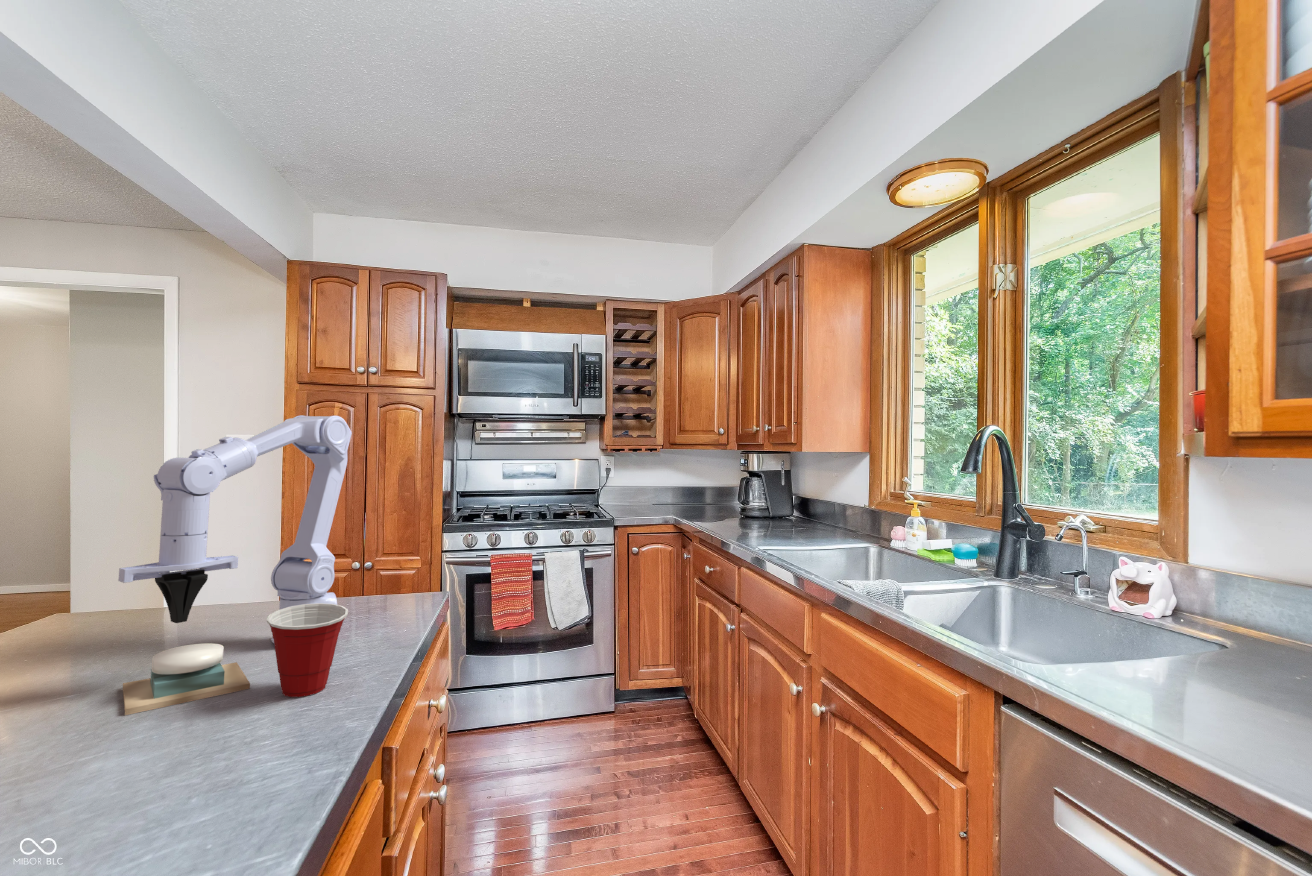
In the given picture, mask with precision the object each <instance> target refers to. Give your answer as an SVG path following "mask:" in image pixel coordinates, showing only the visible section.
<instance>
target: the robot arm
mask: <svg viewBox="0 0 1312 876" xmlns="http://www.w3.org/2000/svg"><path fill="white" fill-rule="evenodd" d="M352 433H353V432H352V430H351V429H350V427H349V425H348V422H346V420H345V419H344V418H343V417H341V416H339V415H329V416H324V415H323V416H322V415H321V416H319V415H317V416H312V415H297V416H295V417H293V418H292V417H291V418H287V419H285V420H284V421H283V422H281V423H278V424H277V425H275V426H273V427H270V428H268V429H266V430H264V431H262V432H259V433H258V434H256V435H255V434H254V436H251V437H249V438H247V439H245V438H244V439H243V438H241V437H233V436H224V437H222V438H219V439H218V441H219V443H217V444H214V445H212V446H209V447H207V448H204V449H202V448H201V449H199V448H198V449H194V450H192V451H191V454H190V455H189V456H188V457H173V458H170V459H168V460H166V461H165V462H163V464H162V465H161V466H160V467H159V468H158V471H157V473H156V474H153V481H154V484H155V486H156V488H157V489H158V490H159V491H160V494H161V496H160V500H161V501H162V502H161V503H162V505H161V519H160V520H161V521H160V535H159V550H158V551H159V554H158V562H152V563H146V564H141V565H140V564H139V565H134V566H126V567H120V568H119V569H118V579H117V581H118V582H120V583H123V584H124V583H125V584H126V583H133V582H134V581H141V580H149V579H154V582H155V584H156V585H157V586H158V589H159V590H160V591H161V593H162V595H163V598H164V600H165V602H166V606H167V609H168V613H169V619H170V622H171V623H174V624H179V623H184V622H185V623H186V622H187V621H188V619H189V615H190V612H191V610H192V607H193V604H194V602H195V601H196V600H195V599H196V598H197V596H199V595H198V594H199V593H200V592H201V590H202V588H203V587H204V585H205V584H206V583H207V581H208V579H209V578H208V577H209V574H208V573H206V572H212V571H219V570H226V569H227V570H233V569H238V565H239V556H238V555H237V556H236V555H224V556H222V555H221V556H213V557H212V556H209V557H207V550H208V549H207V548H208V533H209V517H210V516H209V515H210V502H211V501H210V500H211V493H213V492H215V490H217V489H218V487H219V486H220V484H221V482H223V481H224V480H226V479H229V478H231V477H233V476H235V475H237V474H239V473H240V474H241V472H244V471H246V470H248V469H250V468H252V467H254V465H256V462H257V458H258V457H260V456H263V455H265V454H267V453H270V452H273V451H275V450H278V449H280V448H281V449H282V448H283V447H285V446H288V445H290V444H292V445H293V446H294V447H296V449H298V450H299V451H301V452H302V453H303V455H305V456H306V457H308V458H309V459H310V460H311V462H312V463H313V464H314V468H313V473H312V476H311V480H310V485H309V487H308V491H307V495H306V497H305V502H304V506H303V508H302V509H303V510H302V514H301V517H300V521H299V526H298V529H297V531H296V532H297V533H296V536H295V540H294V543H293V544H292V545H290V546H289V547H288V548H286V549H285V550H284V551H282V552H281V555H280V558H279V560H278V562H277V564H276V565H275V566H274V568H273V570H272V572H271V576H270V582H271V586H272V587H273V589H274V590H276V591H277V597H279V606H278V607H279V609H278V610H280V609H283V608H287V607H291V606H297V605H303V604H315V603H325V604H336V605H338V600H337V596H336V594H335V592H333V591H332V592H331V591H330V592H329V590H330V589H331V588H332V585H333V584H334V582H335V561H336V557H335V556H334V554H333V553H332V552H331V551H330V550H329V549H328V547H327V546H328V541H329V537H330V535H331V533H330V532H331V528H332V525H333V521H334V517H335V514H336V509H337V506H338V505H337V504H338V500H339V498H340V493H341V489H342V486H343V482H344V477H345V473H346V469H347V465H348V451H349V445H350V442H351V439H352V435H353V434H352ZM308 559H309V560H308ZM306 560H307V561H306ZM270 641H271V642H272V643H273V644H274V639H273V637H272V638H271V639H270Z"/></svg>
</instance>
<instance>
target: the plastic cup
mask: <svg viewBox="0 0 1312 876" xmlns="http://www.w3.org/2000/svg"><path fill="white" fill-rule="evenodd" d="M348 614H349V609H348V608H347V607H345V606H343V605H340V604H337V605H336V604H325V603H315V604H303V605H297V606H291V607H287V608H283V609H280V610H279V609H277V610H275V611H273V612H272V613H270V614H268V616H267V618H266V622H267V624H268V625H269V627H270V631H271V633H272V638H273V639H274V643H273V645H274V651H275V658H276V665H277V673H278V675H279V682H280V690H281V694H282V695H283V696H284V697H287V698H288V697H289V698H301V697H307V696H311V695H316V694H318V693H320V692H322V691H324V690H325V689H326V685H327V684H328V679H329V674H330V670H331V667H332V665H333V660H334V657H335V656H334V655H335V651H336V647H337V642H338V639H339V635H340V633H341V628H342V626H343V623H344V621H345V619H346V618H347V617H348Z"/></svg>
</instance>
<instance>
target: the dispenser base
mask: <svg viewBox="0 0 1312 876" xmlns="http://www.w3.org/2000/svg"><path fill="white" fill-rule="evenodd" d="M250 689H251V682H250V681H249V679H248V678H247V676H246V675H245V673H244V672H243V669H242V668H241V667H240V665H239V664H238V662H231V663H225V664H221V662H220V663H218V664H216V665H214V666H212V667H209V668H206V669H202V670H198V671H193V672H188V673H181V674H156V673H153V672H152V668H151V669H150V678H149V677H148V678H143V679H139V680H133V681H129V682H127V681H126V682H123V683H122V697H123V708H124V716H128V715H134V714H137V713H141V712H147V711H153V710H156V709H157V710H158V709H161V708H166V707H169V706H174V705H179V704H180V705H181V704H184V703H189V702H193V701H194V702H195V701H199V700H205V699H209V698H212V697H216V696H217V697H218V696H222V695H227V694H230V693H236V692H240V691H245V690H250Z"/></svg>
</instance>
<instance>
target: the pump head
mask: <svg viewBox="0 0 1312 876" xmlns="http://www.w3.org/2000/svg"><path fill="white" fill-rule="evenodd" d="M224 650H225V649H224V646H223V645H222V644H219V643H210V642H209V643H195V644H187V645H181V646H175V647H171V648H168V649H165V650H162V651H158V652H157V653H156V654H153V656H152V658H151V659H152V660H151V669H152V672H153V673H156V674H181V673H188V672H193V671H198V670H202V669H206V668H209V667H212V666H214V665H216V664H218V663H220V664H221V662H223V660H224Z"/></svg>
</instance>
